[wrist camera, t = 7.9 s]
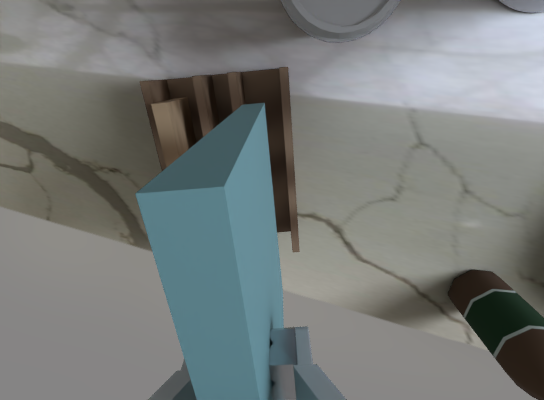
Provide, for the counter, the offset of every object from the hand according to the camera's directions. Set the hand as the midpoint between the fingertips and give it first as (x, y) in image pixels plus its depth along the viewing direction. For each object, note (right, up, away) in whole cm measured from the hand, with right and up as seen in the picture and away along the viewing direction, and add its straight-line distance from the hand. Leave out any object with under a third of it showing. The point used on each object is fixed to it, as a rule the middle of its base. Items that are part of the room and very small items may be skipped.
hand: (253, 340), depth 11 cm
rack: (-4, +11, +25) cm, 28 cm away
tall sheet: (0, +5, +11) cm, 12 cm away
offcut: (-9, +12, +23) cm, 28 cm away
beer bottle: (+31, -8, +33) cm, 46 cm away
